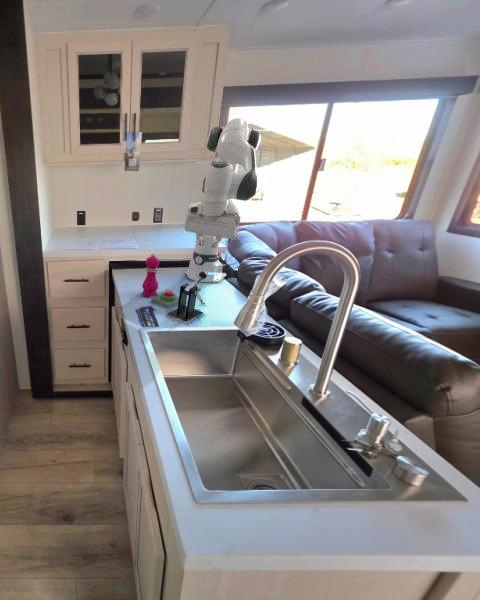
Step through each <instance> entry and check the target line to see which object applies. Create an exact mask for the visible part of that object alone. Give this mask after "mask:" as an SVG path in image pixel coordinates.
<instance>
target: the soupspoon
mask: <svg viewBox="0 0 480 600" xmlns="http://www.w3.org/2000/svg"><path fill="white" fill-rule="evenodd" d="M191 285H192V284H189V286H191ZM196 286H197V287H198V290H197V295H198V297H199V299H200V304H201V305H206V302H205V301H204V300H203V297H202V295H201V293H200V292H199V291H200V290H202V287H201V286H199V285H198V284H197V285H196Z"/></svg>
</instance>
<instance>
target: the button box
mask: <svg viewBox="0 0 480 600" xmlns="http://www.w3.org/2000/svg"><path fill="white" fill-rule="evenodd" d="M164 294H165V291H164V292H161V293H160V294H159V295H158V296H157V295H156V296H155V297H152V298H151V302H153V303H156V304H158V305H161V306H163V307H166V308H169V309H170V308H172V307H174V306H176V305H178V301H179V295H177V294H176V293H174V292H173V296H172V297H168V296H165V295H164Z"/></svg>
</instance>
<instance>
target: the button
mask: <svg viewBox="0 0 480 600" xmlns="http://www.w3.org/2000/svg"><path fill="white" fill-rule="evenodd" d="M164 292H165V294H164V295H165V296H168V297H172V296H173V293H174V291H173V290H169V289H168V290H164Z"/></svg>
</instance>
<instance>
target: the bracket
mask: <svg viewBox="0 0 480 600" xmlns="http://www.w3.org/2000/svg"><path fill="white" fill-rule="evenodd" d="M187 286H190V284H189V283H183V284H182V285H180V286H179V293H178V296H179V301H178V304H177V308H176V309H174V310H172V311H169V312H167V313H166V314H167V315H169V316H171V317H173V318H175V319H178V320H181V321H183V322H185V323H187V322H189V321H191V320H193V319H195V318H197V317H199V316H200V315H202V314H204V312H203V311H200V310H198V309H196V303H197V295H198V293H197V290H198V287H197V286H198V285H197V286H195V287H193V288H190V289H189V295H186V294H184V289H185V288H186V287H187ZM198 291H199V290H198Z"/></svg>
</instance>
